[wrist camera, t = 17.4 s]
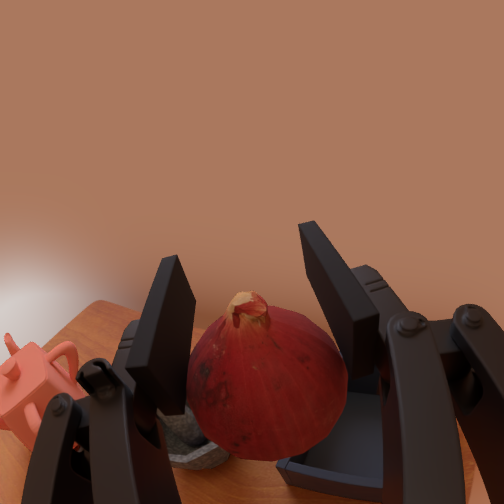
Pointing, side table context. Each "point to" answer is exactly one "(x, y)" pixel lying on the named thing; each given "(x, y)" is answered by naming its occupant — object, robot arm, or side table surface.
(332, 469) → the dark blue open box
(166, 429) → the mortar and pestle
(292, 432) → the onion
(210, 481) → the side table surface
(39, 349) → the teapot
